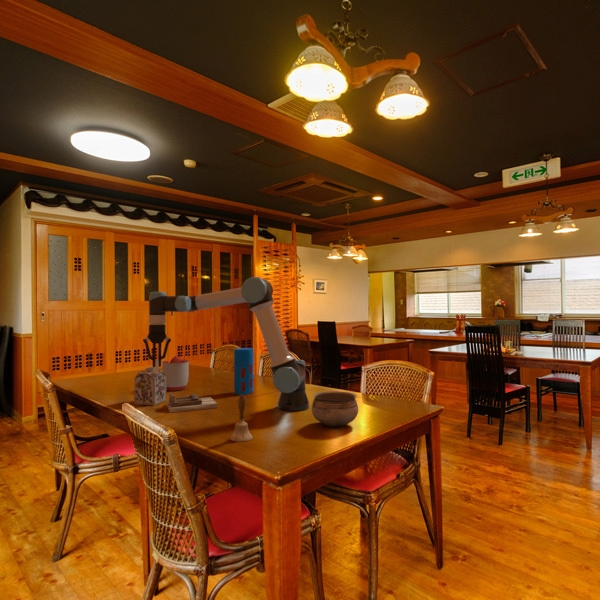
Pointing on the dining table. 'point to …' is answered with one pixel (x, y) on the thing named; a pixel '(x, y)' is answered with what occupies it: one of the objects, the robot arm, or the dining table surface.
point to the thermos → (243, 371)
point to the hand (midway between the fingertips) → (156, 373)
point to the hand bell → (241, 425)
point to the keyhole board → (206, 404)
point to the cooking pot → (335, 408)
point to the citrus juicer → (176, 373)
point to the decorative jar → (150, 387)
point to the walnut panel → (182, 400)
